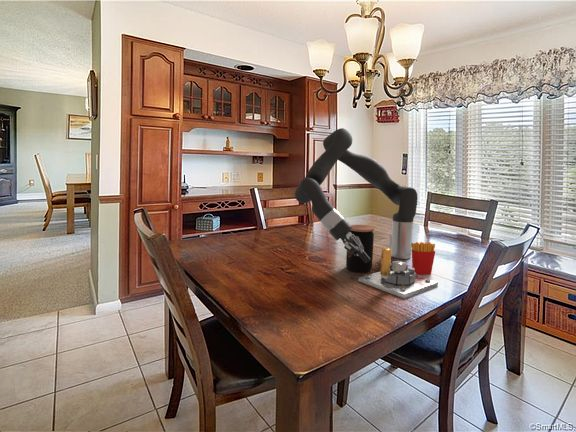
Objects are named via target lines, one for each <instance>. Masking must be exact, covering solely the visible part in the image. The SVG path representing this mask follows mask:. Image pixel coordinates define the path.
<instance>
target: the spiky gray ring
mask: <svg viewBox="0 0 576 432" xmlns="http://www.w3.org/2000/svg"><path fill="white" fill-rule="evenodd" d="M380 257H381V258H380V260H381V261H380V271H381V272H380V271H379V272H380V274H381V278H382V279H383V280H384V281H386V282H389V283H393V284H408V285H409V284H411V283H413V282H415V275H417V274H416V273H415V269H414V268H412V267H409V265H408V264H406V271H402V274H395V272H394V271H391V267H392V256H391V249H389V247H388V248H387V247H383V248H381V256H380Z"/></svg>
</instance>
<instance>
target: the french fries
mask: <svg viewBox="0 0 576 432" xmlns="http://www.w3.org/2000/svg"><path fill="white" fill-rule="evenodd" d="M411 246H412V247H411V268H414V269H415V273H416V274H415V275H416V276H419V275H420V276H430V275H432V272H433V271H432V270H433V267H434V266H433V265H434V261H435V256H436V251H435V249H436V244H435V243H431V242H429V241H427V242H423V241H420V242H418V241H416V242H412V243H411Z"/></svg>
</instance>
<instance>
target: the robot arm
mask: <svg viewBox="0 0 576 432" xmlns="http://www.w3.org/2000/svg"><path fill="white" fill-rule="evenodd" d="M352 144H353V137H352V134H351V132H350V131H349V130H347V129H346V128H344V127H343V128H338V129H336V130H334V131H333V132H331V133H330V134H329V135H327V136H326V137H325V138H324V139H323V141H322V145H323V149H324V152H323V153H322V154H321V155H320V156H319V157H318V158H317V159H316V160H315V161H314V163H313V164H312V165H311V167H310V168H309V170H308V172H307V173H306V175H305V177H304V178H302V179H301V181H300V183H299V184H298V185H297V187H296V189H295V190H294V197H295V200H296V201H297V202H298V203H300V204H307V203H310V202H311V204H312V206H311V212H312V213H313V214H314V216H315V217H316V218H317V219H318V220H319V221H320V223H321V225H322V226H323V227H324V229H325V230H326V231H327V232H328V233H329V235H331V236H332V238H333V239H334V240H335V241H339V240H341V241H342V244H343V245H344V247H343V248H344V249H345V250H346V251H347V250H348V251H349V252H351V253H352V254H354V255H355V256H356V255H357V256H358V255H359V257H360V258H361V259H362V260H363V261H364V262H365V263H367V262H369V261H370V257H369V256H368V255H367V254H366V253H365V252H364V249H363V248H364V247H363V245H362V243H361V241H360V239H359V237H358V236H355V235H354V234H352V233H351V232H350V231H349V230H350V229H351V228H352V226H351V225H352V224H350V223H349V221H348V220H347V219H346V218H345V216H343V215H342V213H340V212H339V210H337V209H336V208H335V207H334V206H333V205H332V204H331V202H330V201H329V200H328V198H327V196H326V195H325V193H324V190H323V189H322V186H321V185H322V184H323V183H324V181H325V180H326V179H327V177H328V175H329V173H330V172H331V170H332V169H333V168H334V166H335V164H337V161H339V162H341V163H343V164H344V165H346V166H347V167H348V168H350V169H351V170H352V171H354V172H355V173H356V174H358V175H359V176H360V177H361V178H363V179H364V180H365V181H366V182H367V183H369V184H370V185H372V186H373V187H374V188H376V189H377V190H379V191H380V192H381V193H383V194H384V195H385V196H386V197H387V199H389V200H390V201H391V202H392V203H393V204H394V205H396V206H398V211H397V213H394V214H393V215H392V226H391V227H392V228H391V234H390V236H389V243H388V245H389V246H388V248H389V249H391V258H395V259H398V260H399V259H403V260H404V259H406V260H408V259H412V246H411V243H413V229H414V219H415V217H416V214H417V208H418V192H417V190H416V189H415V188H414V187H411V186H405V185H404V186H403V185H400V184H399V183H397V182H396V181H395V180H393V179H392V178H391V177H390V176H389V173H388V172H387V170H386V168H385V167H384V166H383V165H382V164H380V163H379V162H378V161H377V160H376V159H374V158H372V157H369V156H365V155H362V154H358V153H355V152H352V151H351V150H349V149H350V148H351V146H352Z"/></svg>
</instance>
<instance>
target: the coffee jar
mask: <svg viewBox="0 0 576 432" xmlns="http://www.w3.org/2000/svg"><path fill="white" fill-rule="evenodd" d="M350 225H351V226H352V228H351V229H350V230H349V231H350V232H351V233H352V234H354V235H355V236H358V237H359V239H360V241H361V243H362V245H363V247H364V248H363V249H364V252H365V253H366V254H367V255H368V256H369V257H370V261H369V262H367V263H365V262H364V261H363V260H362V259H361V258H360V257H359V255H358V256H357V255H356V256H355V255H354V254H352V253H351V252H349V251H348V250H346V256H345V257H346V258H345V259H346V260H345V261H346V262H345V265H346V266H345V267H346V268H347V270H348V271H350V272H352V273H360V274H364V273H368V272H370V271H371V270H372V269H373V258H374V257H373V256H374V255H373V254H374V241H375V240H374V239H375V237H374V236H375V233H374V231H375V227H374V226H371V225H367V224H350Z"/></svg>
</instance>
